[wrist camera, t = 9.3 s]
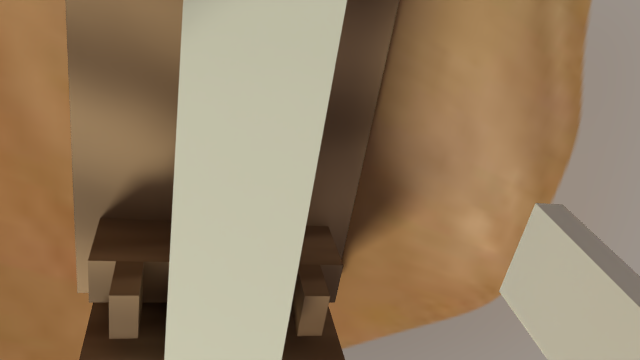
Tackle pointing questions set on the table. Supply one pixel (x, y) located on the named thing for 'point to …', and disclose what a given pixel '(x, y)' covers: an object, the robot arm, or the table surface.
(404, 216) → the table surface
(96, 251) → the rack
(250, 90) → the strip
